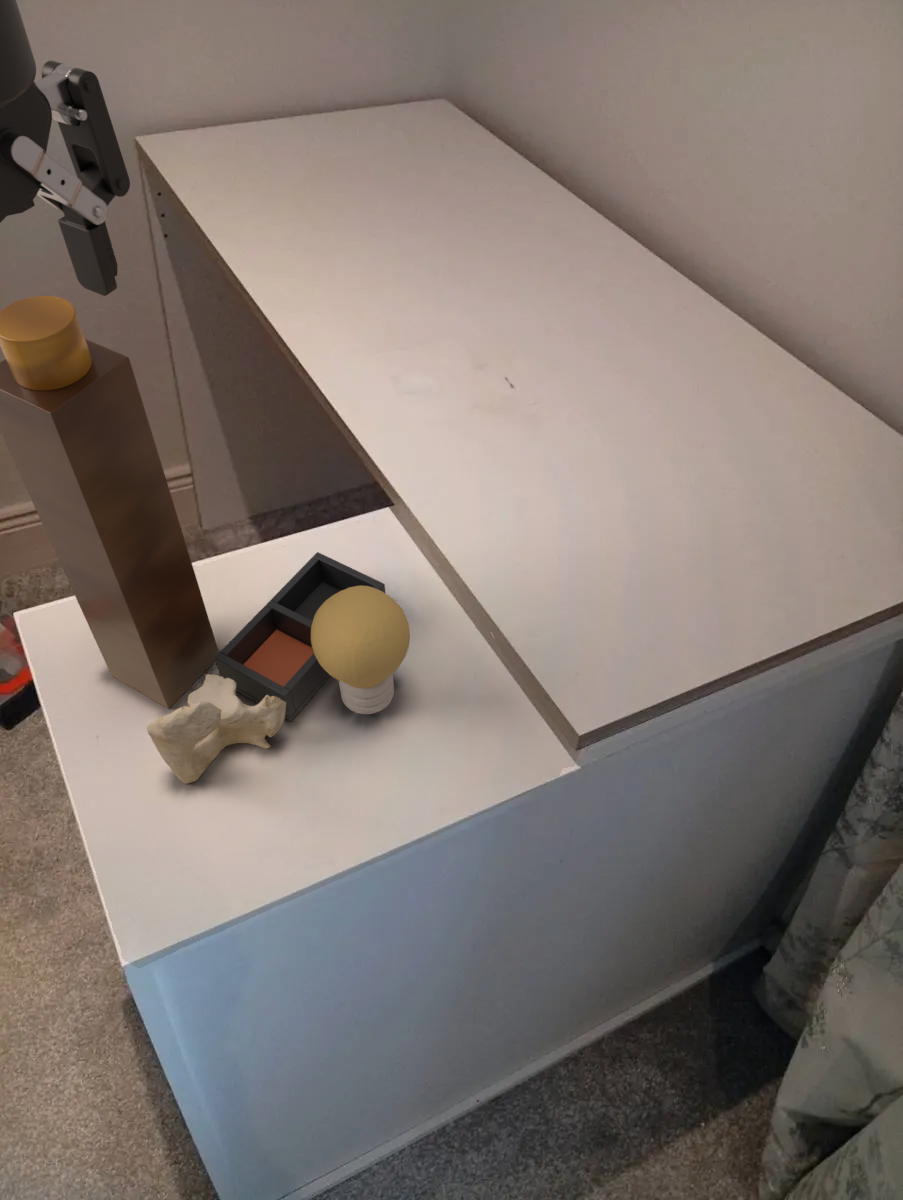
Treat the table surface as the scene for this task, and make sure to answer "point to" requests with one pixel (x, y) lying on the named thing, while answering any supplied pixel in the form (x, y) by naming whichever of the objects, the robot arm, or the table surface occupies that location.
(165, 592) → the block
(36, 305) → the cylinder
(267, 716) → the bone
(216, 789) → the table surface
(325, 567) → the dark grey open box
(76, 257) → the robot arm
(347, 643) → the light bulb
